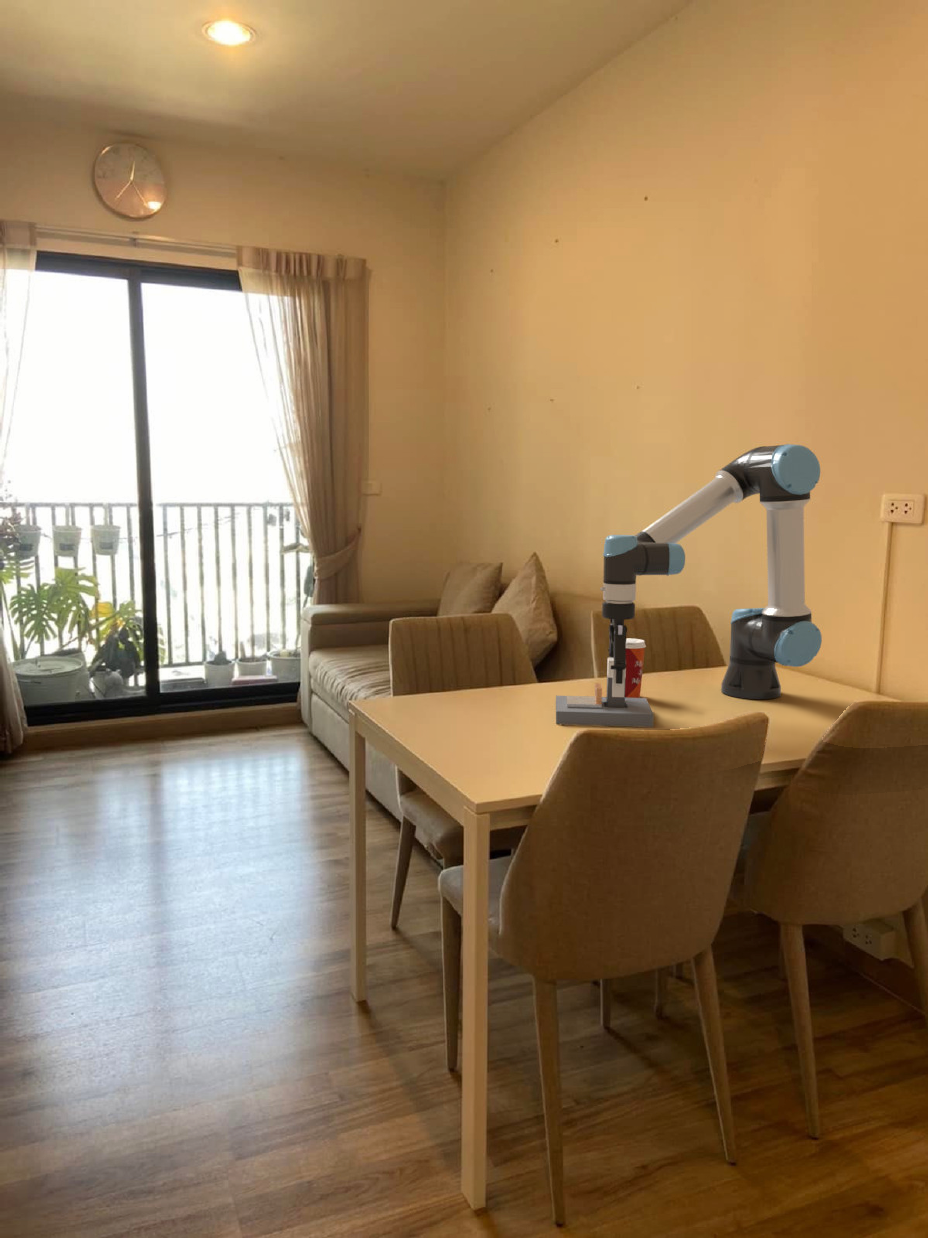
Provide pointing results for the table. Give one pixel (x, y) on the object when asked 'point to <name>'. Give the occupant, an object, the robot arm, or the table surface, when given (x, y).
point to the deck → (606, 713)
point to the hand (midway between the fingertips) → (615, 690)
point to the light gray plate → (586, 699)
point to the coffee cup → (634, 667)
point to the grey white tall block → (611, 701)
